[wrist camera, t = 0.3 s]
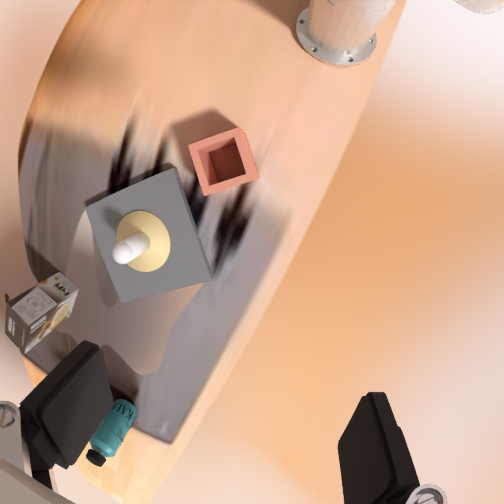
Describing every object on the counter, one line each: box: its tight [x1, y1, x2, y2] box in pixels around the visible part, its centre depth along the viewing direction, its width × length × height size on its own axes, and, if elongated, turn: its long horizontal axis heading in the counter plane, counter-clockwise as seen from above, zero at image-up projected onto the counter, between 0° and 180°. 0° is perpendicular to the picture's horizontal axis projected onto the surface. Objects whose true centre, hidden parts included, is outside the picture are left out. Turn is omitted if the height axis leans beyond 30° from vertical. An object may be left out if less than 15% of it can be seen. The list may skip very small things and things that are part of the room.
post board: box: [86, 168, 214, 302], centre depth 41 cm, size 18×18×9 cm
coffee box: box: [5, 272, 79, 354], centre depth 43 cm, size 9×6×16 cm
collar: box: [188, 127, 260, 196], centre depth 38 cm, size 7×7×6 cm
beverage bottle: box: [86, 399, 137, 467], centre depth 48 cm, size 6×7×20 cm
